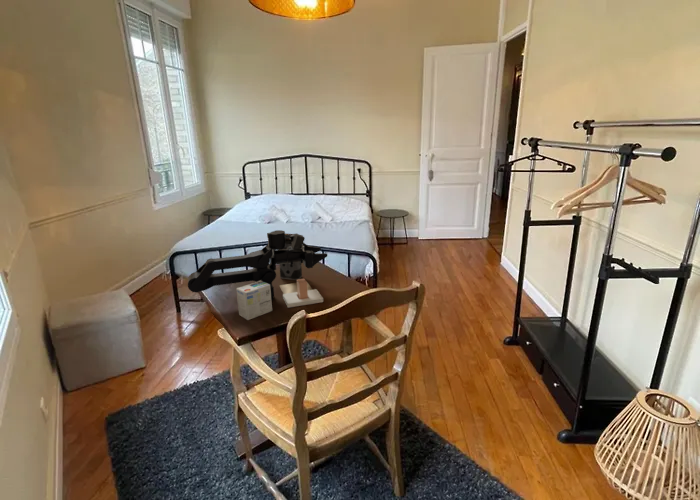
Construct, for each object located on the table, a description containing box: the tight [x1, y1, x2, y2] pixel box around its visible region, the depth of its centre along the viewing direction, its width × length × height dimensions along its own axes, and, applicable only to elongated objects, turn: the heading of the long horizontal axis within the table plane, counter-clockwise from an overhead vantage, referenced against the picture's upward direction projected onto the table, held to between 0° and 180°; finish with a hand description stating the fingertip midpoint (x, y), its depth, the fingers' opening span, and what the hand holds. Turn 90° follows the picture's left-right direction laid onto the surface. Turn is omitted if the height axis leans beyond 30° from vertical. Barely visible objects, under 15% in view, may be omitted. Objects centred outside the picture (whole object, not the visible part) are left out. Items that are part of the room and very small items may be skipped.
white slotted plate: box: [282, 288, 324, 308], centre depth 152 cm, size 14×10×2 cm
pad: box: [279, 282, 314, 295], centre depth 163 cm, size 12×10×1 cm
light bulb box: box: [235, 280, 273, 321], centre depth 140 cm, size 11×7×11 cm, turn 136°
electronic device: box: [278, 232, 303, 281], centre depth 173 cm, size 9×6×20 cm, turn 73°
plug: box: [296, 278, 308, 300], centre depth 151 cm, size 3×4×8 cm
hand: (323, 251), depth 158 cm, fingers open, 9 cm apart
